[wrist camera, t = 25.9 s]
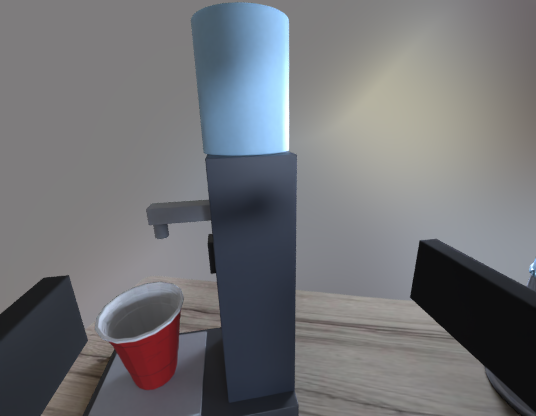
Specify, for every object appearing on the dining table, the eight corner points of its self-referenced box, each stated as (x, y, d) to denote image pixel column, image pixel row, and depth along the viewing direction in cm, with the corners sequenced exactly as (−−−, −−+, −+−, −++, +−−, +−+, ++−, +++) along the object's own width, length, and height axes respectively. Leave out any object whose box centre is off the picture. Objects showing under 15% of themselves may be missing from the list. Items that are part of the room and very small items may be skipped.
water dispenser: (277, 327, 50) (273, 46, 35) (302, 415, 35) (311, -12, 20) (120, 351, 45) (42, 41, 31) (69, 462, 30) (-125, -38, 16)
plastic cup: (96, 387, 36) (74, 316, 33) (160, 334, 45) (149, 274, 42) (147, 428, 31) (129, 350, 28) (208, 359, 40) (200, 293, 37)
